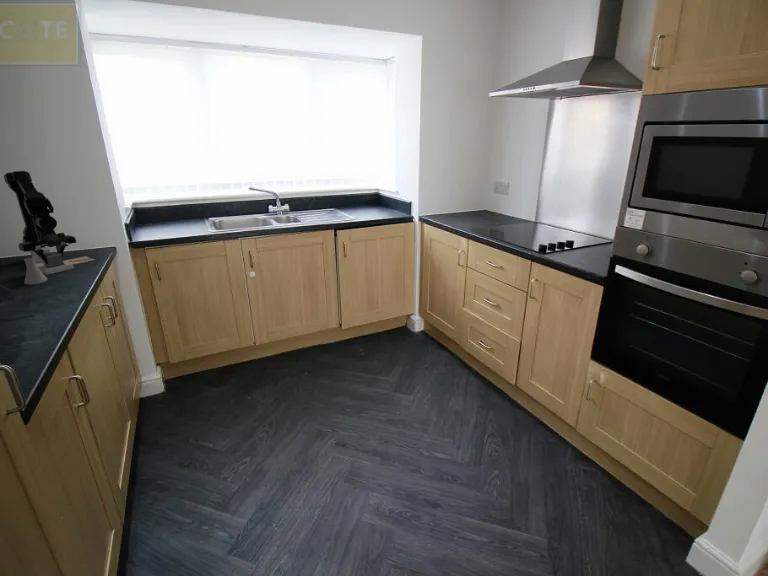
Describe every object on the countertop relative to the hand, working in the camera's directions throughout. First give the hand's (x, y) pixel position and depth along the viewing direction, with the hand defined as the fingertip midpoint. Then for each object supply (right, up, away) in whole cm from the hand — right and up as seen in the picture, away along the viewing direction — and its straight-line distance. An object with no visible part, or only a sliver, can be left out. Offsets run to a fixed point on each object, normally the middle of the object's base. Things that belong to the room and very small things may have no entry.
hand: (53, 262), depth 180 cm
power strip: (-7, -2, +6) cm, 9 cm away
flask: (+4, -9, -13) cm, 17 cm away
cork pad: (+1, +1, +14) cm, 14 cm away
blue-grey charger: (-10, -1, +7) cm, 12 cm away
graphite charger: (0, -3, +1) cm, 3 cm away
